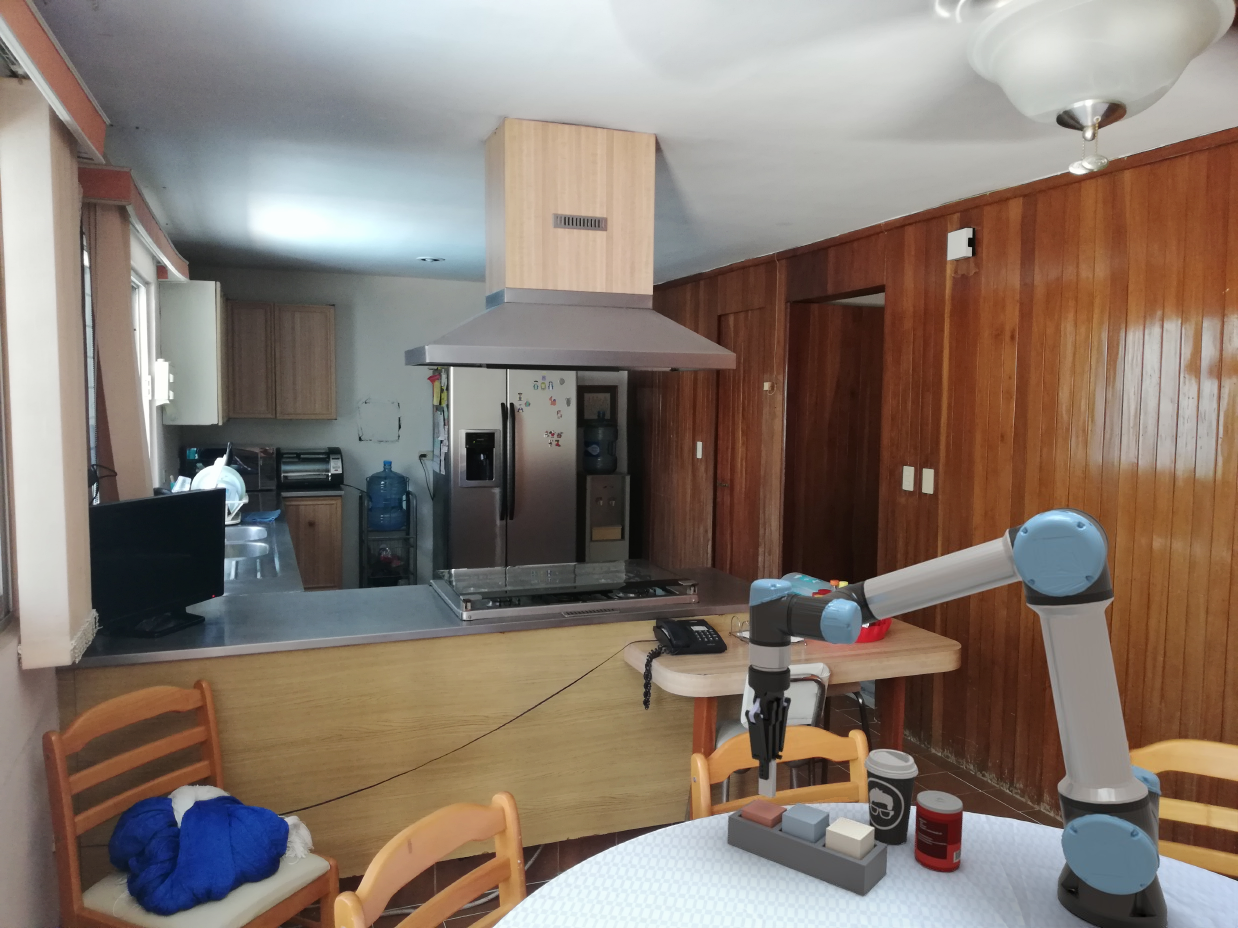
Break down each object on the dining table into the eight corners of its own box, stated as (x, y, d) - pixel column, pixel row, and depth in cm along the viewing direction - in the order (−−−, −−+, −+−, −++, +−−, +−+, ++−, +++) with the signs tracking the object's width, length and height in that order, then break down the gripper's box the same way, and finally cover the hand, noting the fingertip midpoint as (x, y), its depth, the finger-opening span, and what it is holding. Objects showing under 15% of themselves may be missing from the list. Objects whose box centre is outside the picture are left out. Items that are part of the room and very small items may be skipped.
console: (886, 873, 142) (887, 844, 142) (863, 895, 135) (865, 865, 135) (753, 825, 158) (754, 799, 158) (727, 843, 151) (728, 815, 151)
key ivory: (873, 850, 142) (874, 827, 141) (859, 864, 137) (860, 840, 137) (840, 838, 145) (841, 816, 145) (825, 851, 141) (826, 828, 141)
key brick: (786, 829, 152) (787, 808, 152) (770, 841, 147) (771, 819, 147) (757, 819, 156) (758, 798, 156) (740, 830, 151) (741, 808, 151)
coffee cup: (922, 849, 151) (926, 768, 150) (869, 847, 151) (872, 766, 150) (905, 825, 160) (908, 748, 160) (855, 823, 160) (858, 746, 160)
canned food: (952, 851, 150) (955, 791, 150) (966, 874, 142) (969, 811, 142) (909, 848, 151) (911, 788, 151) (920, 870, 143) (923, 808, 143)
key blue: (828, 834, 147) (829, 812, 147) (813, 847, 142) (814, 824, 142) (797, 824, 151) (798, 802, 150) (781, 835, 146) (782, 813, 146)
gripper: (768, 655, 158) (766, 778, 159) (732, 669, 148) (730, 800, 148) (804, 662, 153) (802, 789, 154) (770, 677, 143) (767, 812, 144)
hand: (767, 794), depth 151 cm, fingers closed
